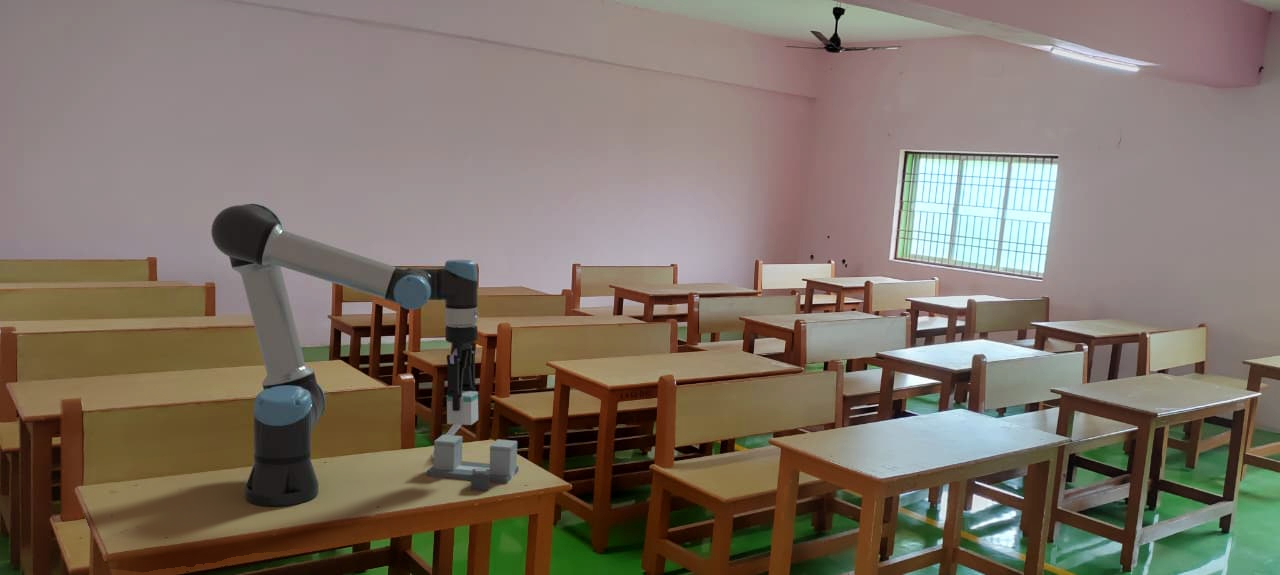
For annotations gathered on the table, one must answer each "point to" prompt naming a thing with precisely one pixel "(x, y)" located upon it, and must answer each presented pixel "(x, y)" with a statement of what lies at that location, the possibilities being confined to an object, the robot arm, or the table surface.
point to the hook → (452, 431)
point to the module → (465, 408)
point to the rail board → (453, 466)
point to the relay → (480, 479)
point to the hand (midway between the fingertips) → (461, 420)
